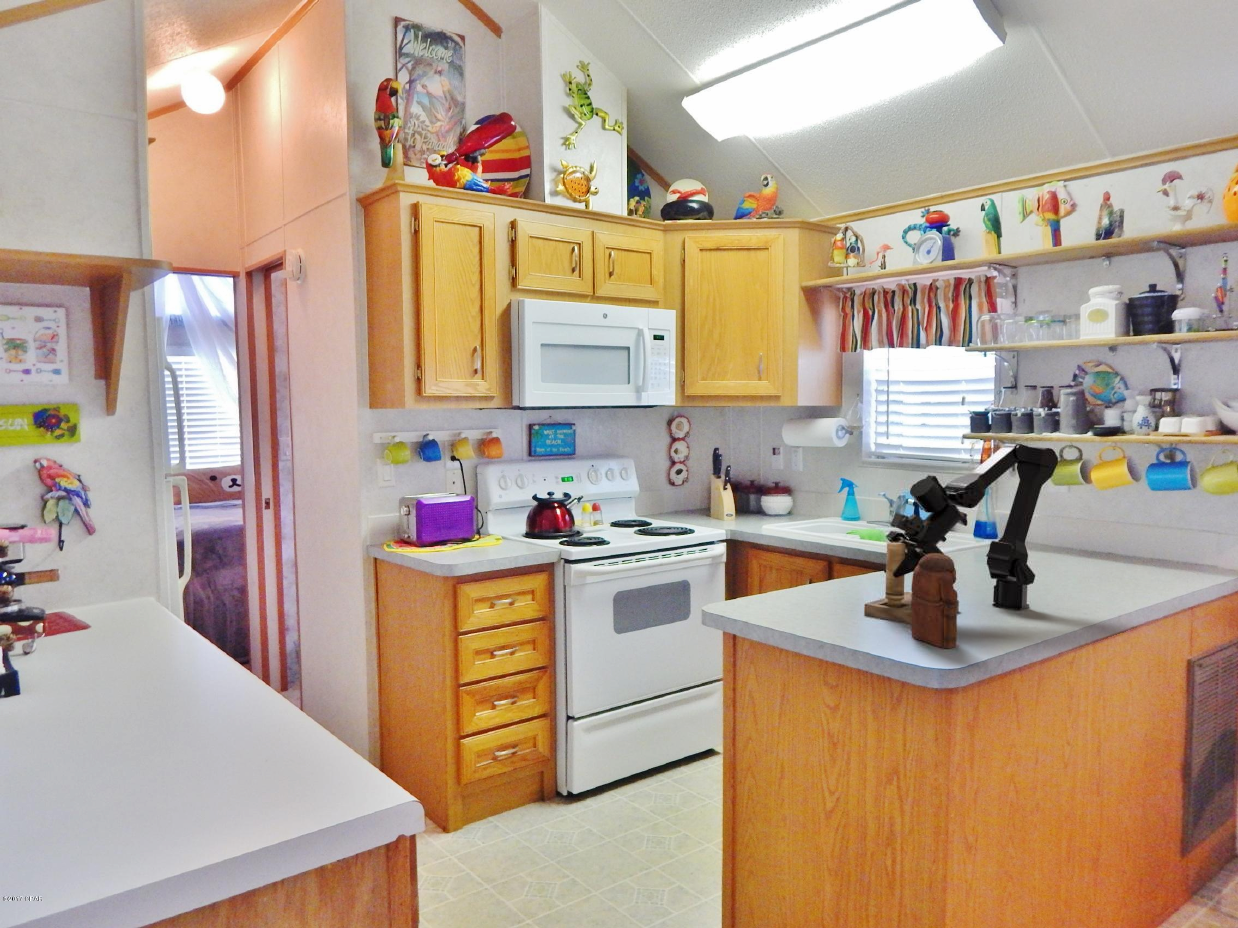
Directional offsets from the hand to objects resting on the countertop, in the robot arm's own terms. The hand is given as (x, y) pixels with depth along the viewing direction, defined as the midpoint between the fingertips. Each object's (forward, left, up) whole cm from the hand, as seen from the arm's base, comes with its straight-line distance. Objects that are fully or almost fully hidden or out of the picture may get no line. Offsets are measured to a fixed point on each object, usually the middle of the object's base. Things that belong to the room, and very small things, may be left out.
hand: (889, 574), depth 196 cm
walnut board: (-2, -7, -9) cm, 12 cm away
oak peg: (-1, -1, -7) cm, 7 cm away
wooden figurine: (-17, +13, -10) cm, 24 cm away
